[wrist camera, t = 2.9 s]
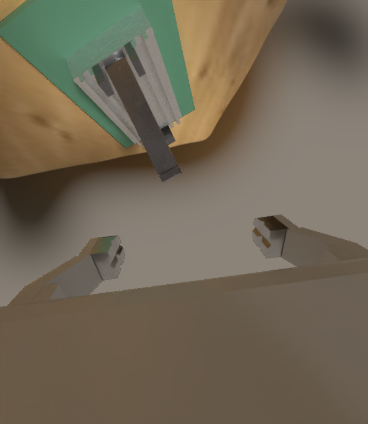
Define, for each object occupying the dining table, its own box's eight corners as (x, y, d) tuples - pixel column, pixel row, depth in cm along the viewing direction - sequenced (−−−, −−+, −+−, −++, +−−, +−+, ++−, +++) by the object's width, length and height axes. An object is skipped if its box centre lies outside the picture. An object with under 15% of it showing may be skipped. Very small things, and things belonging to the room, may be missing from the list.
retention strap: (111, 75, 23) (103, 65, 21) (129, 63, 23) (122, 52, 21) (164, 181, 26) (162, 182, 24) (182, 173, 25) (180, 172, 23)
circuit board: (-6, 26, 19) (-4, 32, 18) (148, -99, 16) (151, -93, 15) (125, 145, 44) (126, 148, 44) (193, 106, 41) (194, 109, 41)
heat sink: (65, 58, 23) (78, 97, 21) (140, 5, 21) (160, 43, 19) (136, 137, 41) (145, 161, 40) (178, 113, 40) (190, 137, 38)
